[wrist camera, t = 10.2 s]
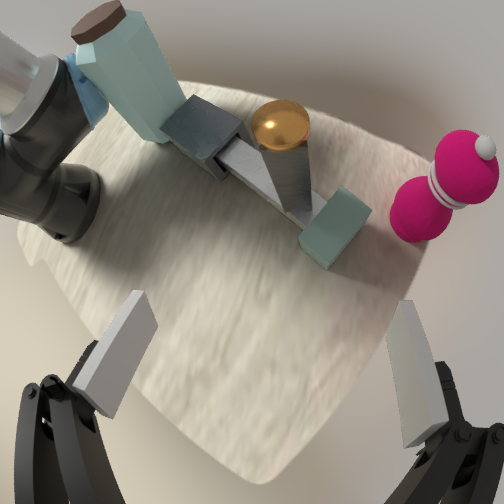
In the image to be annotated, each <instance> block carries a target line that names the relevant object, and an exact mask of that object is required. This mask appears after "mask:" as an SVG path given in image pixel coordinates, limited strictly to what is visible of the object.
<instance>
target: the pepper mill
mask: <svg viewBox="0 0 504 504" xmlns="http://www.w3.org/2000/svg"><path fill="white" fill-rule="evenodd" d="M495 154H496V146H495V143H494V141H493V140H492V139H491V138H490V137H488V136H485V135H483V136H479V135H477V134H476V133H474V132H471V131H468V130H456V131H453V132H450V133H448V134H447V135H446V136H445V137H443V139H442V140H441V141H440V142H439V144H438V146H437V148H436V152H435V159H434V161H433V162H432V163H431V165H430V167H429V169H428V176H420V177H416V178H413V179H410V180H409V181H407V182H406V183H404V184H403V185H402V186H401V187H400V188H399V190H398V192H397V194H396V196H395V200H394V203H393V205H392V207H391V210H390V222H391V225H392V228H393V229H394V231H395V233H396V234H397V235H398V236H399V237H400V238H402V239H403V240H405V241H408V242H414V243H415V242H420V241H422V240H431V239H434V238H436V237H437V236H439V235H440V234H441V233H442V232H443V231H444V230H445V229H446V227H447V225H448V224H449V222H450V220H451V216H452V212H453V209H455V210H457V209H462V208H464V207H466V206H467V205H469V204H478V203H481V202H483V201H485V200H486V199H488V198H489V197H490V196H491V195H492V194H493V192H494V190H495V189H496V187H497V183H498V179H499V167H498V162H497V158H496V156H495Z"/></svg>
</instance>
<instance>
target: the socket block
mask: <svg viewBox="0 0 504 504" xmlns="http://www.w3.org/2000/svg"><path fill="white" fill-rule="evenodd" d="M371 212H372V210H371V209H370V208H369V207H368V206H367V205H365V204H364V203H363V202H362V201H360V200H359V199H358V198H357V197H355V196H354V195H353V194H352V193H350V192H349V191H348V190H347V189H345V188H344V187H343V186H341V187H340V188H339V189H338V191H337V192H336V193H335V194H334V195H333V197H332V198H331V199H330V200H329V201H328V202H327V204H326V205H325V206H324V207H323V208H322V210H321V211H320V212H319V213H318V214H317V215H316V217H315V218H314V219H313V220H312V221H311V222H310V223H309V225H308V226H307V227H306V228H305V229H304V230H303V232H302V233H301V234H300V235H299V236H298V239H299V242H300V246H301V249H302V250H303V251H304V252H305V253H307V254H308V255H309V256H310V257H311V258H312V259H314V260H315V261H316V262H317V263H318V264H319V265H320V266H322V267H323V268H324V269H325V270H327V269H328V268H329V267H330V265H331V264H332V263H333V262H334V261H335V259H336V258H337V257H338V256H339V255H340V253H341V252H342V251H343V250H344V249H345V247H346V246H347V245H348V244H349V243H350V241H351V240H352V239H353V238H354V236H355V235H356V234H357V233H358V231H359V230H360V229H361V228H362V226H363V224H364V223H365V221H366V220H367V218H368V217H369V215H370V213H371Z"/></svg>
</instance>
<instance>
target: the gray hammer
mask: <svg viewBox="0 0 504 504" xmlns="http://www.w3.org/2000/svg"><path fill="white" fill-rule="evenodd" d="M251 126H252V130H253V133H254V135H255V137H256V140H257V142H258V143H259V144H260V152H259V151H257V150H256V149H254V148H253V147H251V146H250V145H248V144H247V143H245V142H244V141H242V140H241V139H239V138H238V137H236V136H235V135H234V136H233V137H232V138H231V139H230V140H229V141H228V142H227V143H226V144H225V145H224V147H223V148H222V149H221V150H220V151H219V152H218V153H217V154H216V155H215V156H214V157H215V159H216V160H217V161H218V163H219V164H220V165H221V166H223V167H224V168H225V169H227V170H228V171H229V172H231V173H232V174H233V175H234V176H236V177H237V178H238V179H240V180H241V181H242V182H244V183H245V184H246V185H247V186H249V187H250V188H251V189H253V190H254V191H255V192H256V193H258V194H259V195H260V196H261V197H263V198H264V199H265V200H267V201H268V202H269V203H270V204H272V205H273V206H274V207H275V208H277V209H278V210H279V211H280V212H281V213H283V214H284V215H285V216H286V217H288V218H289V219H290V220H291V221H293V222H294V223H295V224H296V225H297V226H299V227H300V228H301V229H302V230H304V229H305V228H306V227H307V226H308V225H309V223H310V222H311V221H312V220H313V219H314V218H315V217H316V215H317V214H318V213H319V212H320V211H321V210H322V208H323V207H324V206H325V205H326V204H327V201H326V200H325V199H323V198H322V197H321V196H320V195H318V194H317V193H316V192H314V191H313V190H312V189H311V182H310V169H309V157H308V146H307V139H308V137H309V134H310V122H309V116H308V113H307V111H306V110H305V109H304V108H303V107H302V106H301V105H299V104H297V103H296V102H293V101H289V100H276V101H272V102H269V103H266V104H265V105H263V106H261V107H260V108H259V109H258V110H257V111H256V112H255V114H254V116H253V118H252V122H251Z"/></svg>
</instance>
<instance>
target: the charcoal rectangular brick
mask: <svg viewBox="0 0 504 504" xmlns="http://www.w3.org/2000/svg"><path fill="white" fill-rule="evenodd" d="M159 129H160V130H161V131H162V132H163V134H164V135H165V136H166V137H167V138H168V139H169V140H170V141H171V142H172V143H173V144H174V145H175V146H176V147H177V148H178V149H179V150H180V151H182V152H183V153H184V154H186V155H187V156H188V157H189V158H191V159H192V160H193V161H195V162H196V163H197V164H198V165H200V166H201V167H202V168H203V169H205V170H206V171H207V172H209V173H210V174H211V175H212V176H214V177H215V178H216V179H217V180H219V181H220V182H222V181H223V180H224V178H225V177H226V176H227V175H228V174H229V173H230V172H229V171H228V170H227V169H225V168H224V167H223V166H221V165H220V164H219V163H218V161H217V160H216V159H215V157H214V156H215V155H216V154H217V153H218V152H219V151H220V150H221V149H222V148H223V147H224V145H225V144H226V143H227V142H228V141H229V140H230V139H231V138H232V137H233V136H234V135H235V136H236V137H238V138H239V139H241V140H242V141H244V142H245V143H247V144H248V145H250V146H251V147H253V148H254V145H253V143H252V141H251V139H250V137H249V134H248V132H247V130H246V128H245V126H244V124H243V121H241V120H239V119H238V118H236V117H234V116H232V115H231V114H229V113H227V112H225V111H224V110H222V109H220V108H218V107H216V106H215V105H213V104H211V103H209V102H207V101H205V100H203V99H201V98H200V97H198V96H196V95H194V94H193V95H192V96H191V97H190V98H189V99H188V100H187V101H186V102H185V103H184V104H183V105H182V106H181V107H180V108H179V109H178V110H177V111H176V112H175V113H174V114H173V115H172V116H171V117H170V118H169V119H168V120H167V121H166V122H165V123H164V124H163V125H162V126H161V127H160V128H159Z"/></svg>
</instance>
